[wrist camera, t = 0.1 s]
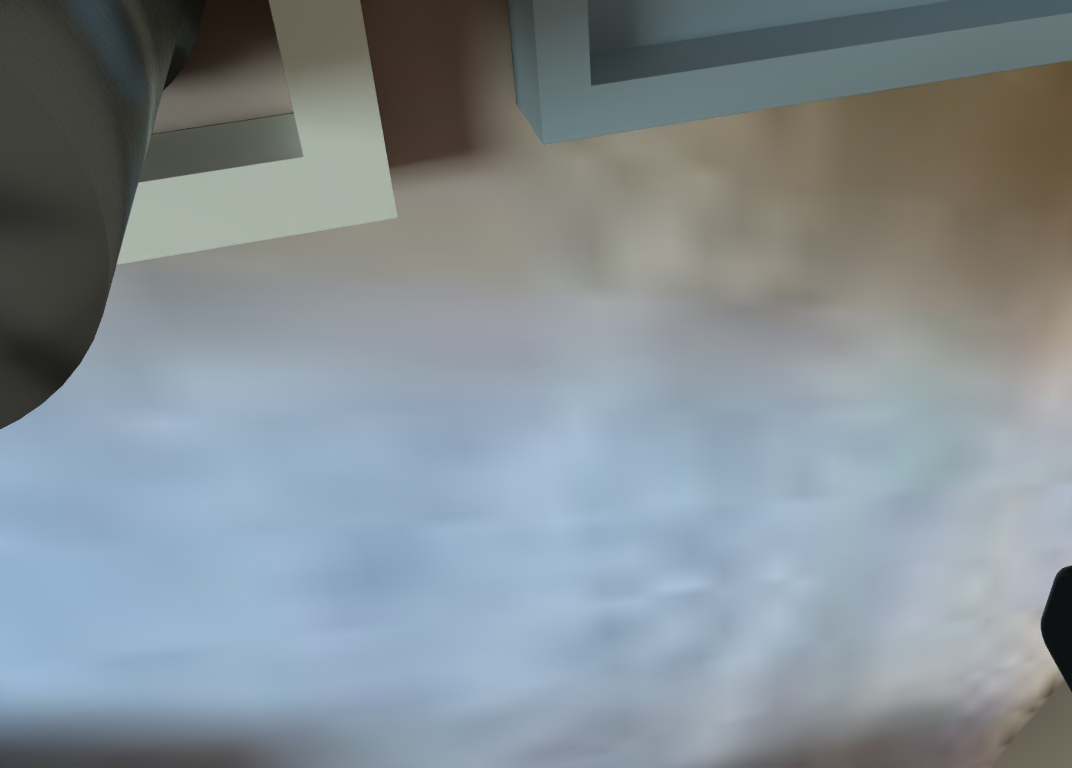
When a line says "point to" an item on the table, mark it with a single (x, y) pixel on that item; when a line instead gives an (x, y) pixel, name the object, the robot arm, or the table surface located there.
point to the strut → (72, 169)
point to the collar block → (274, 151)
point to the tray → (755, 54)
